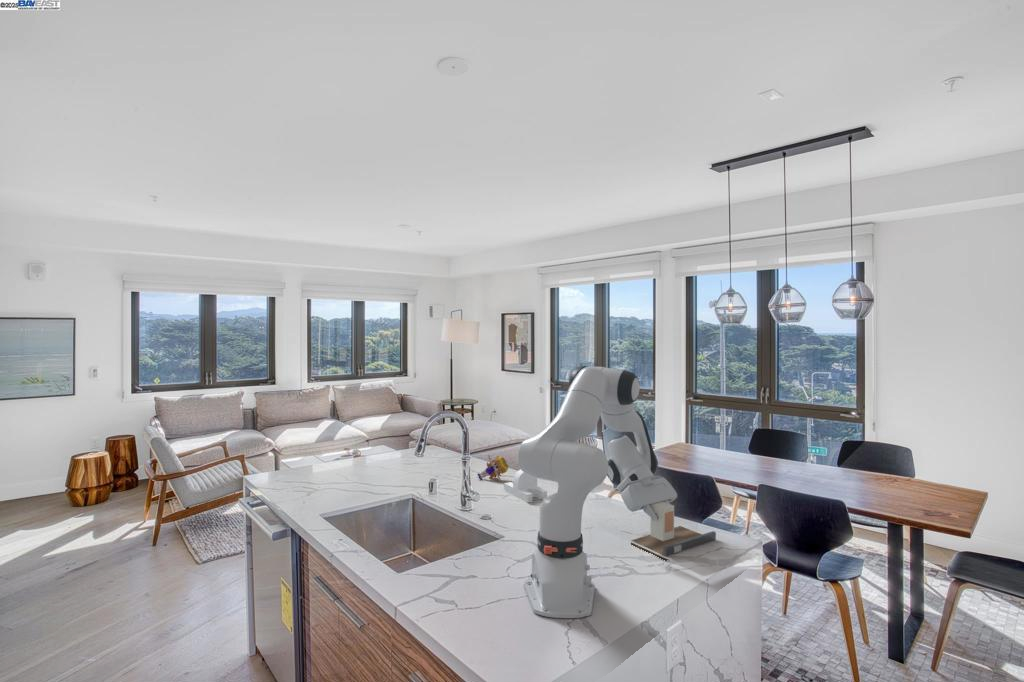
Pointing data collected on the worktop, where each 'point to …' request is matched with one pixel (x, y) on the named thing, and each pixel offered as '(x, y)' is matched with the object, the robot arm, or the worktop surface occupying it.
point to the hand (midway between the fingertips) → (663, 517)
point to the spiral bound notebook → (658, 545)
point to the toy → (494, 468)
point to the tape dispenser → (525, 487)
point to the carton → (663, 521)
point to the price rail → (689, 543)
